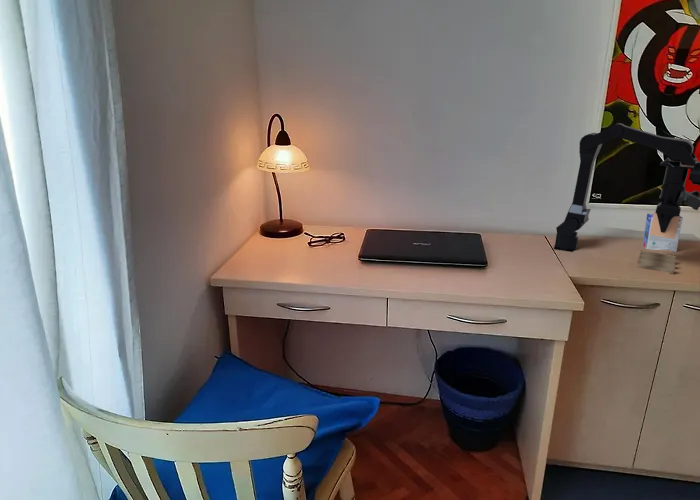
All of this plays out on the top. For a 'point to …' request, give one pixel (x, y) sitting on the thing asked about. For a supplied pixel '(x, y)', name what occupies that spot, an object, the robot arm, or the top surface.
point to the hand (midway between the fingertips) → (663, 231)
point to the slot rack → (656, 261)
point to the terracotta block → (669, 231)
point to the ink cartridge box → (658, 241)
